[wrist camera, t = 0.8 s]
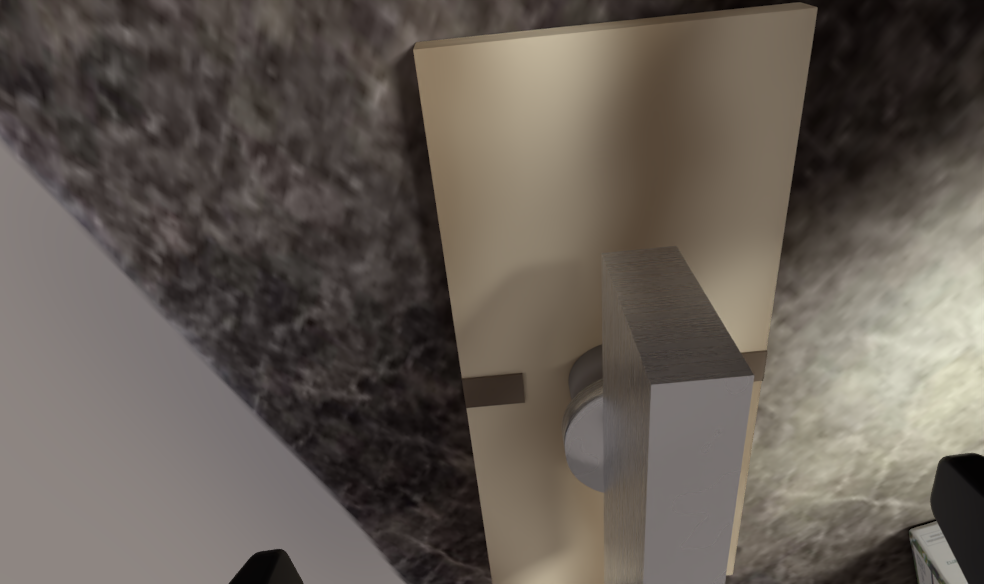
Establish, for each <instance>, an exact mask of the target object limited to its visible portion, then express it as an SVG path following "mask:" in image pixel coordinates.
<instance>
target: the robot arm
mask: <svg viewBox="0 0 984 584" xmlns="http://www.w3.org/2000/svg"><path fill="white" fill-rule="evenodd" d="M930 502H931V509H932V512H933V515H934V517H935V519H936V521H937V523H938V525H939V527H940V529H941V531H942V533H943V535H944V537H945V539H946V541H947V543H948V545H949V547H950V549H951V551H952V553H953V555H954V557H955V559H956V561H957V563H958V565H959V567H960V569H961V571H962V573H963V575H964V577H965V579H966V581H967V583H968V584H984V456H982V455H979V454H976V453H965V454H958V455H951V456H945V457H943V458H942V459H941V460H940V461H939V463H938V467H937V471H936V475H935V480H934V484H933V488H932V492H931V498H930ZM229 584H303V581H302V579H301V577H300V576H299V574H298V572H297V570H296V568H295V567H294V565H293V563H292V561H291V559H290V558H289V556H288V554H287V553H286V552H285V551H284V550H282V549H275V550H268V551H261V552H257V553H255V554H254V555H253V556H252V557H250V559H249V560H248V561H247V562H246V563H245V565H244V566H243V567H242V568H241V569H240V571H239V572H238V573H237V574H236V575H235V577H234V578H233V579H232V580H231V581H230V583H229Z"/></svg>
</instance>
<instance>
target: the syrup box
mask: <svg viewBox="0 0 984 584" xmlns="http://www.w3.org/2000/svg"><path fill="white" fill-rule="evenodd" d="M909 538H910V544H911V548H912V554H913V559H914V565H915V570H916V576H917V582H918V584H968V583H967V581H966V579H965V577H964V575H963V573H962V571H961V569H960V567H959V565H958V563H957V561H956V559H955V557H954V555H953V553H952V551H951V549H950V547H949V545H948V543H947V541H946V539H945V537H944V535H943V533H942V531H941V529H940V527H939V525H938V523H937V521H935V522H932V523H929V524H926V525H923V526H919V527H916V528H912V529H910V530H909Z"/></svg>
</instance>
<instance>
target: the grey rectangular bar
mask: <svg viewBox="0 0 984 584" xmlns="http://www.w3.org/2000/svg"><path fill="white" fill-rule="evenodd" d="M602 366H603V378H602V379H599V380H597V381H595V382H593V383H592V384H590V385H588V386H587V387H585V388H584V389H583V390H582V391H580V392H579V393H578V394H577V395H576V396H575V397H574V398H573V400H572V401H571V402H570V403H569V405H568V407H567V409H566V410H565V413H564V416H563V419H562V427H561V431H562V437H563V443H564V449H565V455H566V460H567V463H568V466H569V468H570V470H571V472H572V473H573V474H574V476H575V477H576V478H577V479H578V480H579V481H580V482H582V483H583V484H585V485H586V486H588V487H590V488H592V489H594V490H596V491H599V492H602V493H604V584H725V578H726V571H727V564H728V557H729V550H730V543H731V536H732V529H733V522H734V515H735V508H736V501H737V494H738V487H739V480H740V473H741V466H742V459H743V452H744V445H745V438H746V431H747V424H748V417H749V410H750V403H751V396H752V388H753V381H754V374H753V372H752V371H751V369H750V367H749V366H748V364H747V362H746V361H745V359H744V357H743V356H742V354H741V352H740V351H739V349H738V347H737V346H736V344H735V342H734V341H733V339H732V337H731V336H730V334H729V332H728V331H727V329H726V327H725V326H724V324H723V322H722V321H721V319H720V317H719V316H718V314H717V312H716V311H715V309H714V307H713V306H712V304H711V302H710V301H709V299H708V297H707V296H706V294H705V292H704V291H703V289H702V287H701V286H700V284H699V282H698V281H697V279H696V277H695V276H694V274H693V272H692V271H691V269H690V268H689V266H688V264H687V263H686V261H685V259H684V258H683V256H682V254H681V253H680V251H679V249H678V248H677V246H670V247H660V248H649V249H639V250H629V251H618V252H608V253H602Z"/></svg>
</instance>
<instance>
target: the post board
mask: <svg viewBox="0 0 984 584" xmlns="http://www.w3.org/2000/svg"><path fill="white" fill-rule="evenodd" d="M817 10H818V7H814V6H811V5H808V4H805V3H801V2H797V3H787V4H777V5H768V6H758V7H749V8H739V9H730V10H720V11H711V12H701V13H691V14H682V15H672V16H663V17H653V18H644V19H634V20H624V21H615V22H605V23H596V24H586V25H577V26H567V27H557V28H548V29H538V30H529V31H519V32H510V33H500V34H491V35H481V36H471V37H462V38H452V39H443V40H433V41H424V42H416V44H415V46H414V49H413V52H414V59H415V65H416V72H417V79H418V86H419V92H420V99H421V106H422V113H423V119H424V126H425V133H426V139H427V146H428V153H429V160H430V166H431V173H432V180H433V187H434V193H435V200H436V207H437V214H438V220H439V227H440V234H441V241H442V247H443V254H444V261H445V267H446V274H447V281H448V288H449V294H450V301H451V308H452V315H453V321H454V328H455V335H456V342H457V348H458V355H459V362H460V368H461V375H462V384H463V391H464V397H465V404H466V409H467V416H468V422H469V429H470V436H471V443H472V449H473V456H474V463H475V470H476V476H477V483H478V490H479V496H480V503H481V510H482V517H483V523H484V530H485V537H486V544H487V550H488V557H489V564H490V571H491V577H492V584H604V493H602V492H599V491H596V490H594V489H592V488H590V487H588V486H586V485H585V484H583V483H582V482H580V481H579V480H578V479H577V478H576V477H575V476H574V474H573V473H572V472H571V470H570V468H569V466H568V463H567V460H566V455H565V449H564V443H563V437H562V431H561V427H562V419H563V416H564V413H565V410H566V409H567V407H568V405H569V403H570V402H571V401H572V400H573V398H574V397H575V396H576V395H577V394H578V393H579V392H580V391H582V390H583V389H584V388H585V387H587V386H588V385H590V384H592V383H593V382H595V381H597V380H599V379H602V378H603V366H602V253H608V252H618V251H629V250H639V249H649V248H660V247H670V246H677V248H678V249H679V251H680V253H681V254H682V256H683V258H684V259H685V261H686V263H687V264H688V266H689V268H690V269H691V271H692V272H693V274H694V276H695V277H696V279H697V281H698V282H699V284H700V286H701V287H702V289H703V291H704V292H705V294H706V296H707V297H708V299H709V301H710V302H711V304H712V306H713V307H714V309H715V311H716V312H717V314H718V316H719V317H720V319H721V321H722V322H723V324H724V326H725V327H726V329H727V331H728V332H729V334H730V336H731V337H732V339H733V341H734V342H735V344H736V346H737V347H738V349H739V351H740V352H741V354H742V356H743V357H744V359H745V361H746V362H747V364H748V366H749V367H750V369H751V371H752V372H753V374H754V381H753V388H752V396H751V403H750V410H749V417H748V424H747V431H746V438H745V445H744V452H743V459H742V466H741V473H740V480H739V487H738V494H737V501H736V508H735V515H734V522H733V529H732V536H731V543H730V550H729V557H728V564H727V571H726V575H733V568H734V562H735V555H736V548H737V542H738V535H739V528H740V522H741V515H742V508H743V502H744V495H745V488H746V482H747V475H748V469H749V462H750V455H751V449H752V442H753V435H754V429H755V422H756V415H757V409H758V402H759V395H760V389H761V382H762V381H763V378H764V372H765V365H766V358H767V350H766V349H767V342H768V335H769V329H770V322H771V316H772V309H773V302H774V296H775V289H776V282H777V276H778V269H779V262H780V256H781V249H782V242H783V236H784V229H785V222H786V216H787V209H788V202H789V196H790V189H791V182H792V176H793V169H794V163H795V156H796V149H797V143H798V136H799V129H800V123H801V116H802V109H803V103H804V96H805V89H806V83H807V76H808V69H809V63H810V56H811V49H812V43H813V36H814V30H815V23H816V16H817Z"/></svg>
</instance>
